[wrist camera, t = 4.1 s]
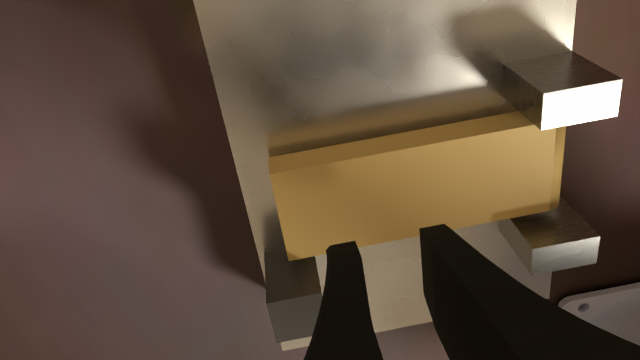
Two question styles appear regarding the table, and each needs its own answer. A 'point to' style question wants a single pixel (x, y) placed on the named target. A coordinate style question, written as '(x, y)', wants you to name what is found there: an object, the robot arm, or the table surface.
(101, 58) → the table surface
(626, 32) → the table surface
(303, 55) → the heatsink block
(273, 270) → the lug
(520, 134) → the golden yellow flat bar
